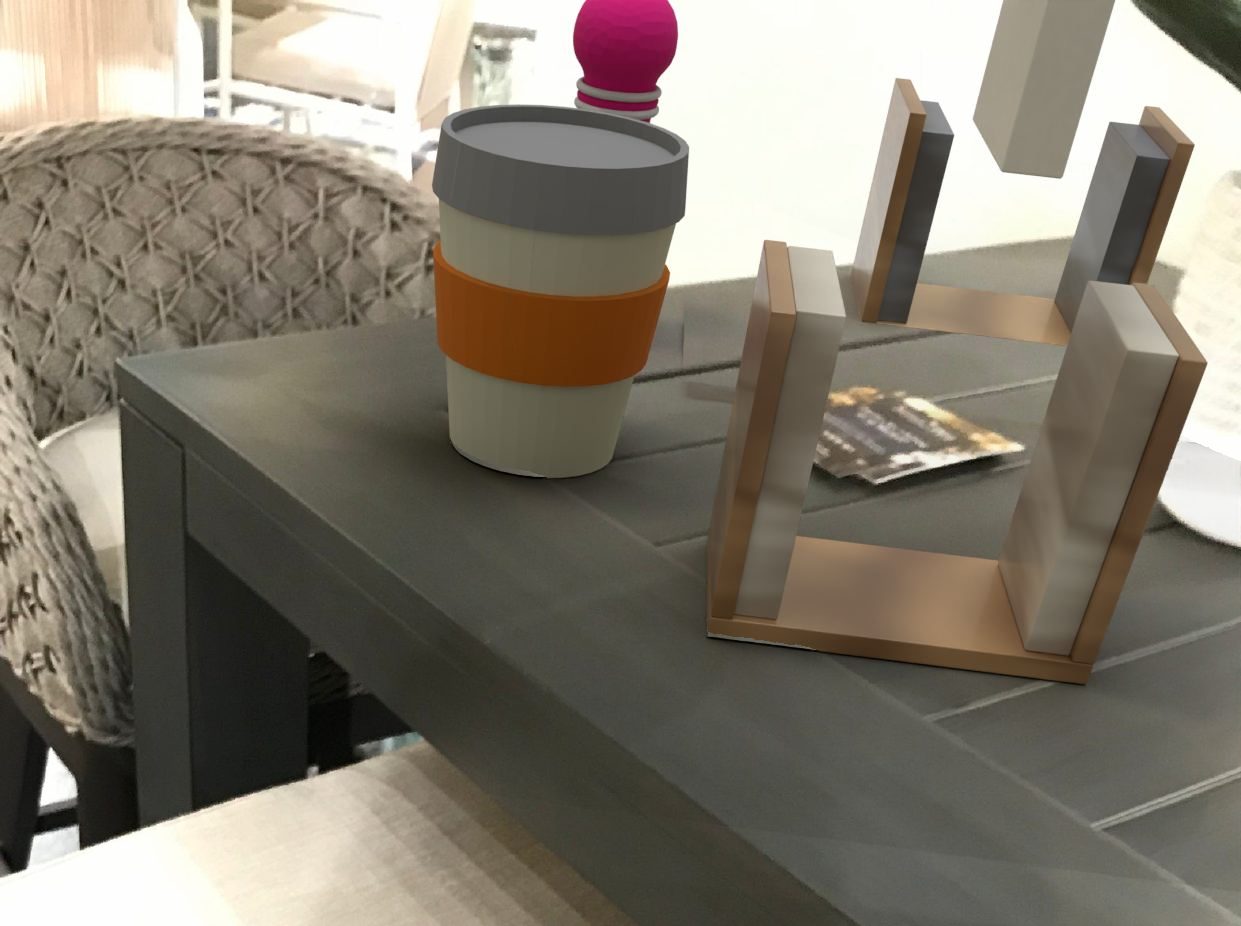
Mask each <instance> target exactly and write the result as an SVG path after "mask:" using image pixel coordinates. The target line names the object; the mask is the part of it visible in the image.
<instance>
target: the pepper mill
mask: <svg viewBox="0 0 1241 926" xmlns="http://www.w3.org/2000/svg"><path fill="white" fill-rule="evenodd" d="M678 39H679V26H678V20H677V17H676V12H675V10H674V8H673V6H672V5H671V3H670V1H669V0H584V2H583V3H582V5H581V7H580V9H579V11H578V13H577V16H576V19H575V22H574V27H573V32H572V46H573V52H574V56H575V58H576V60H577V61H578V63H579V65H580V67H581V69H582V72H583V73H582V74H583V76H581V77H579V78H578V79H577V80H576V82H575V85H576V89H577V92H576V97H575V98H574V100H573V104H574V106H575V108H579V109H587V110H593V111H599V112H606V113H611V114H616V115H620V116H625V117H630V118H633V119H637V120H641V121H644V122H648V123H651V121H652V119H653V118H655V117H656V116H658V115H659V113H660V107H659V106H658V104H659V99H660V97H661V96H662V93H663V92H662V89H661V87H659V85H658V84H657V83H658V81H659V79H660V78H661V76H662V75H663V74H664V73H665V72H666V71H667V70H668V68H669V67H670V66H671V65H672V62H673V61H674V58H675V56H676V53H677V49H678V48H677V47H678Z"/></svg>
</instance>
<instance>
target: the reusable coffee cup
mask: <svg viewBox="0 0 1241 926" xmlns="http://www.w3.org/2000/svg"><path fill="white" fill-rule="evenodd" d="M440 125H441V126H440V132H439V137H438V145H437V150H436V156H435V163H434V169H433V176H432V182H431V188H432V192H433V194H434V195H435V196H436V197H437V198H438V213H439V235H440V236H439V237H440V240H439V241H438V242H437V243H436V244H435V245H434V247H433V249H432V257H433V259H432V260H433V277H434V278H433V279H434V298H435V299H434V300H435V301H434V302H435V318H436V320H435V321H436V339H437V346H438V347H439V349H440V350H441V352H442V353H443V354H444V355H445V364H446V365H445V366H446V386H447V407H448V409H447V411H448V427H449V431H448V432H449V439H450V438H451V440H452V441H453V443H454V444H455V445H457V446H458V448H460V449H462V451H463V452H466V453H468V454H470V455H471V456H475V457H476V458H478V459H480V460H483V461H486V462H489V463H490V464H494V465H498V466H501V467H505V468H511V469H518V470H524V471H530V472H532V473H535V474H538V475H543V476H545V477H547V478H546V479H562V478H563V479H564V478H571V477H572V478H573V477H579V476H584V475H588V474H591V473H594V472H597V471H599V470H601V469H603V468H604V467H605V466H607V465H609V463H610V462H611V461H612V459H613V456H614V453H615V449H616V446H617V442H618V439H619V434H620V432H621V431H620V430H621V427H622V424H623V420H624V416H625V413H626V409H627V406H628V401H629V398H630V395H631V390H632V386H633V383H634V380H635V376H636V375H637V374H638V373H640V372H641V371H642V370H643V369H644V368H645V367H646V365H647V362H648V359H649V354H650V351H651V347H652V344H653V341H654V336H655V332H656V329H657V325H658V322H659V318H660V315H661V311H662V309H663V308H662V307H663V303H664V300H665V297H666V294H667V289H668V285H669V282H670V279H671V278H670V277H671V272H670V269H669V267H668V265H667V264H666V262H667V257H668V255H669V251H670V248H671V243H672V241H673V236H674V233H675V229H676V225H677V224H678V223H680V222H681V220H683V218H684V217H685V215H686V205H687V191H688V190H687V189H688V174H689V157H690V146H689V143H687V141H686V140H685V139H684V138H683V137H681V136H680V135H678V134H677V133H675V132H673V131H671V130H669V129H666V128H664V127H662V126H659V125H656V124H653V123H651V122H650V123H648V122H644V121H641V120H637V119H633V118H630V117H625V116H620V115H616V114H611V113H606V112H599V111H593V110H587V109H579V108H577V107H570V106H558V105H544V104H495V105H484V106H477V107H470V108H464V109H462V110H461V109H460V110H458V111H455V112H452V113H450V114H449V115H447V116H445V117H444V119H443V120H442V122H441V124H440Z"/></svg>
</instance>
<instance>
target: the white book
mask: <svg viewBox="0 0 1241 926" xmlns="http://www.w3.org/2000/svg"><path fill="white" fill-rule="evenodd" d="M1115 4H1116V0H1002V4H1001V7H1000V11H999V15H998V20H997V23H996V27H995V31H994V34H993V39H992V42H991V46H990V49H989V54H988V57H987V60H986V61H987V62H986V65H985V69H984V74H983V77H982V80H981V84H980V88H979V91H978V96H977V100H976V104H975V108H974V112H973V116H972V121H973V123H974V125H975V126H976V129H977V130H978V132H979V134H980V135H981V138H982V139H983V141H984V143H985V145H986V147H987V148H988V150H989V153H990V154H991V155H992V157H993V159H994V161H995V163H996V165H997V166H998V169H999V170H1000V171H1001V172H1002V173H1006V174H1013V175H1014V174H1015V175H1023V176H1033V177H1040V178H1050V179H1063V177H1064V174H1065V171H1066V168H1067V164H1068V161H1069V157H1070V154H1071V151H1072V147H1073V144H1074V141H1075V137H1076V133H1077V130H1078V127H1079V124H1080V121H1081V118H1082V114H1083V111H1084V107H1085V103H1086V100H1087V97H1088V94H1089V91H1090V87H1091V83H1092V80H1093V77H1094V74H1095V70H1096V67H1097V63H1098V61H1099V58H1100V57H1099V56H1100V53H1101V50H1102V47H1103V43H1104V41H1105V36H1106V33H1107V29H1108V26H1109V22H1110V20H1111V16H1112V13H1113V10H1114V7H1115Z"/></svg>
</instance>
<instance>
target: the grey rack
mask: <svg viewBox="0 0 1241 926" xmlns="http://www.w3.org/2000/svg"><path fill="white" fill-rule="evenodd" d="M891 92H892V93H891V96H890V99H889V100H890V101H889V105H888V109H887V113H886V117H885V123H884V127H883V131H882V137H881V139H880V140H881V141H880V144H879V145H880V146H879V150H878V153H877V159H876V162H875V167H874V172H873V176H872V179H871V180H872V181H871V184H870V189H869V193H868V198H867V202H866V206H865V211H864V216H863V220H862V224H861V228H860V233H859V237H858V242H857V247H856V251H855V255H854V260H853V264H852V268H851V273H850V279H851V283H852V288H853V293H854V297H855V301H856V306H857V310H858V315H859V318H860V319H859V320H860V322H861V323H868V324H877V325H886V326H893V327H901V328H902V327H903V328H912V329H918V330H919V329H920V330H929V331H937V332H945V333H954V334H962V335H971V336H977V337H987V338H997V339H1003V340H1005V339H1006V340H1012V341H1013V340H1014V341H1022V342H1023V341H1024V342H1029V343H1037V344H1038V343H1039V344H1047V345H1055V346H1065V347H1067V345H1068V342H1069V339H1070V336H1071V333H1072V329H1073V326H1074V323H1075V320H1076V317H1077V314H1078V311H1079V307H1080V304H1081V301H1082V298H1083V295H1084V292H1085V289H1086V286H1087V283H1088V281H1098V282H1107V283H1116V284H1124V285H1132V283H1143V284H1149V280H1150V278H1151V275H1152V271H1153V268H1154V266H1155V264H1156V259H1157V256H1158V254H1159V251H1160V248H1161V245H1162V243H1163V240H1164V237H1165V233H1166V230H1167V227H1168V224H1169V221H1170V219H1171V216H1172V213H1173V210H1174V208H1175V205H1176V201H1177V198H1178V195H1179V193H1180V190H1181V187H1182V183H1183V181H1184V178H1185V175H1186V172H1187V169H1188V166H1189V163H1190V161H1191V157H1192V155H1193V151H1194V148H1195V146H1196V145H1195V143H1194V142H1193V141H1192V139H1190V137H1188V136H1187V134H1185V132H1184V131H1182V129H1181V128H1180V127H1179V126H1178V125H1177V124H1176V123H1175V122H1174V121H1173V120H1172V119H1171V118H1170V117H1169V116H1168V115H1167V114H1166V112H1164V111H1163V109H1162V108H1161V107H1159V106H1150V105H1145V106H1144V107H1143V111H1142V114H1141V117H1140V119H1139V123H1138V124H1134V123H1126V122H1117V121H1109V122H1108V125H1107V128H1106V131H1105V135H1104V138H1103V141H1102V144H1101V147H1100V151H1099V155H1098V157H1097V161H1096V164H1095V166H1094V171H1093V174H1092V177H1091V180H1090V183H1089V185H1088V186H1089V187H1088V190H1087V193H1086V196H1085V199H1084V203H1083V206H1082V209H1081V212H1080V216H1079V219H1078V221H1077V225H1076V229H1075V232H1074V235H1073V237H1072V242H1071V244H1070V248H1069V252H1068V255H1067V258H1066V261H1065V264H1064V268H1063V270H1062V274H1061V278H1060V281H1059V284H1058V287H1057V290H1056V294H1055V297H1054V298H1050V297H1049V298H1048V297H1040V296H1033V295H1032V296H1031V295H1023V294H1014V293H1005V292H999V291H997V292H996V291H988V290H980V289H971V288H963V287H954V286H945V285H937V284H930V283H929V284H928V283H920V282H918V281H919V278H920V277H919V276H920V274H921V273H920V272H921V268H922V264H923V261H924V257H925V252H926V250H927V245H928V241H929V237H930V233H931V230H932V225H933V221H934V217H935V214H936V210H937V206H938V202H939V197H940V194H941V190H942V185H943V182H944V178H945V174H946V170H947V167H948V162H949V158H950V155H951V150H952V146H953V142H954V138H955V134H954V131H953V129H952V127H951V125H950V123H949V121H948V119H947V117H946V115H945V113H944V111H943V109H942V107H941V105H940V103H939V102H938V101H931V100H921V99H920V96H919V95H918V93H917V90H916V88H915V85H914V84H913V82H912V80H911V79H909V78H901V77H896V78H895V79H894V83H893V87H892V91H891Z"/></svg>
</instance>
